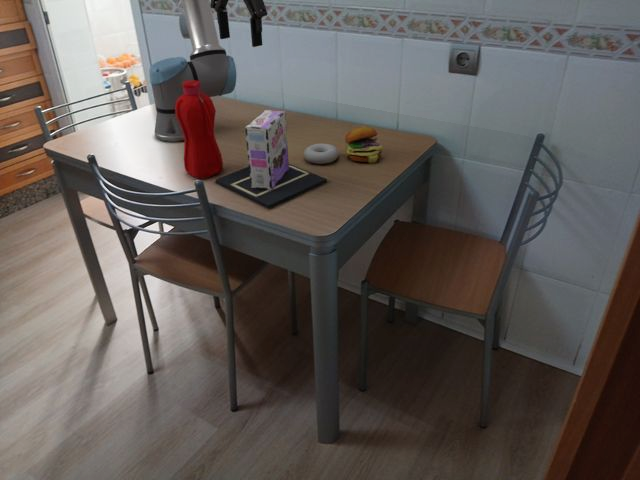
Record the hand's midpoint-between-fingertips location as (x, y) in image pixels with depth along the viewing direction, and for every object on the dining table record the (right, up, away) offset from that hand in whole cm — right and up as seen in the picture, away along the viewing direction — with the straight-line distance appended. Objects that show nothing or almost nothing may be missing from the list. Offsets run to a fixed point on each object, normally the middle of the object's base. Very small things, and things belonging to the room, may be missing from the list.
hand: (240, 42), depth 135 cm
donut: (+21, -28, +15) cm, 38 cm away
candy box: (+8, -35, +2) cm, 36 cm away
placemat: (+8, -36, +3) cm, 37 cm away
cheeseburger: (+33, -28, +16) cm, 46 cm away
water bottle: (-11, -33, +9) cm, 36 cm away
